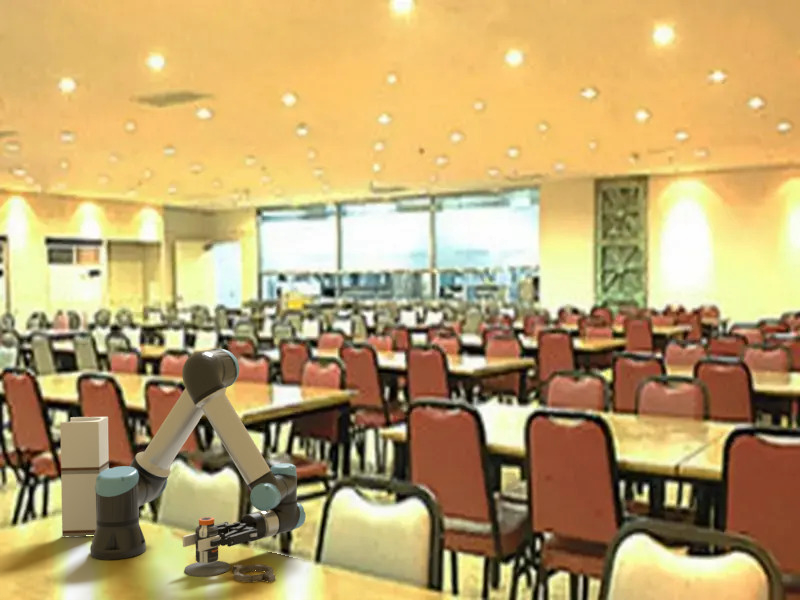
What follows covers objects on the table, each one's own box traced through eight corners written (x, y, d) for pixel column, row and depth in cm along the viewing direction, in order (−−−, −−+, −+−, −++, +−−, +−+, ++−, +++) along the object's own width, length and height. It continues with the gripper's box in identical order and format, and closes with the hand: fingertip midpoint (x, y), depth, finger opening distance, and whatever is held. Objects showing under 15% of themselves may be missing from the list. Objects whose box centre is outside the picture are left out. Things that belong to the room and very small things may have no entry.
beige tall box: (109, 527, 286) (108, 416, 286) (100, 536, 276) (98, 421, 275) (73, 528, 286) (71, 417, 285) (62, 537, 275) (60, 422, 274)
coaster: (175, 570, 241) (175, 568, 241) (211, 559, 250) (211, 558, 250) (203, 579, 233) (203, 577, 233) (239, 568, 242) (239, 566, 242)
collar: (220, 575, 237) (220, 569, 237) (249, 565, 244) (249, 560, 244) (257, 586, 227) (257, 581, 227) (286, 576, 235) (286, 571, 235)
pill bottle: (209, 565, 238) (208, 522, 237) (191, 562, 240) (190, 520, 240) (223, 558, 243) (222, 516, 243) (205, 556, 246) (204, 514, 245)
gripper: (236, 507, 261) (169, 523, 244) (281, 517, 249) (213, 535, 231) (237, 533, 261) (169, 551, 244) (281, 544, 249) (214, 564, 232)
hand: (191, 543), depth 238 cm, fingers closed on pill bottle, 6 cm apart
